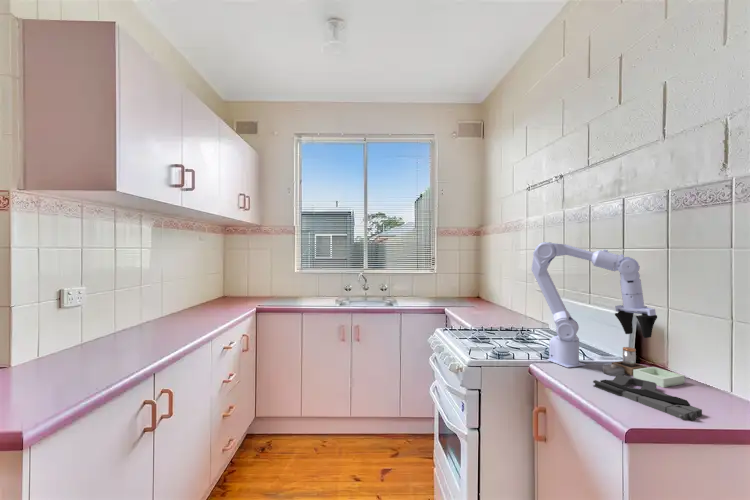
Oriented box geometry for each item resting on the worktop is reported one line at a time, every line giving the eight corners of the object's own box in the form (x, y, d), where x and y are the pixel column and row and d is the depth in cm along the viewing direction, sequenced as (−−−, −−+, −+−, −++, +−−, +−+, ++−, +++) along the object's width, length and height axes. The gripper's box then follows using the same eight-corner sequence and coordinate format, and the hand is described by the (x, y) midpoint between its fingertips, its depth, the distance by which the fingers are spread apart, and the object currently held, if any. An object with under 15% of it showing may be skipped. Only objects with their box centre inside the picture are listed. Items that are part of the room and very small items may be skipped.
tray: (633, 377, 121) (633, 369, 121) (653, 374, 124) (653, 366, 124) (663, 387, 112) (663, 379, 112) (684, 383, 115) (684, 375, 115)
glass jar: (620, 370, 128) (620, 347, 128) (627, 368, 129) (627, 346, 129) (630, 373, 125) (630, 350, 125) (638, 372, 126) (638, 349, 126)
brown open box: (597, 371, 127) (597, 362, 127) (626, 366, 131) (626, 358, 131) (616, 377, 120) (616, 369, 120) (647, 373, 125) (647, 364, 125)
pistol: (625, 373, 120) (590, 379, 114) (724, 404, 96) (686, 414, 90) (625, 380, 120) (590, 386, 114) (724, 413, 96) (686, 423, 90)
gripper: (661, 293, 118) (668, 337, 117) (626, 291, 132) (631, 330, 132) (641, 296, 117) (647, 340, 116) (607, 293, 131) (613, 333, 131)
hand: (637, 335), depth 124 cm, fingers open, 7 cm apart
